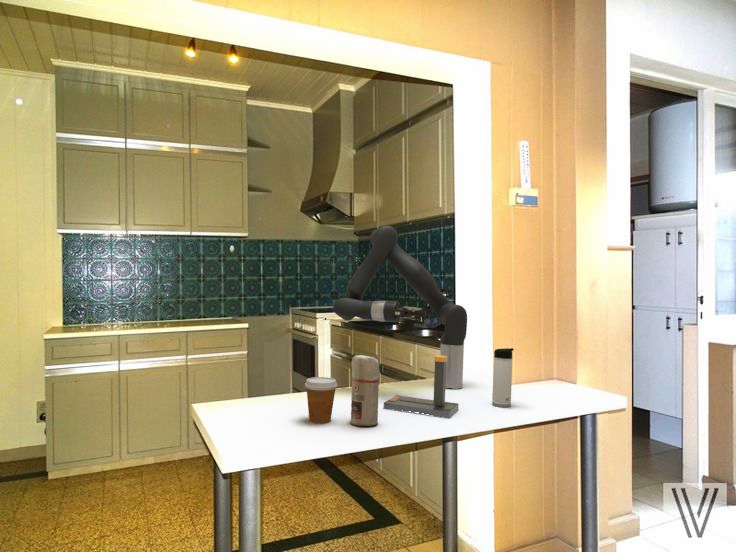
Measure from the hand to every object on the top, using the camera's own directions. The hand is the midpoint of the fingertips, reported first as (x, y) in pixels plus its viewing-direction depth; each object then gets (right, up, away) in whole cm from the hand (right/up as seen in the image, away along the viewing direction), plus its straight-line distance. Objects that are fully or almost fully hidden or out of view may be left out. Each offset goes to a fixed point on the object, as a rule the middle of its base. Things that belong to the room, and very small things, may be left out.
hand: (429, 313), depth 173 cm
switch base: (-4, -31, -11) cm, 33 cm away
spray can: (-23, -30, -29) cm, 48 cm away
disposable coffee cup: (-36, -30, -28) cm, 54 cm away
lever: (+2, -29, -13) cm, 31 cm away
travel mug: (+25, -32, -2) cm, 41 cm away
